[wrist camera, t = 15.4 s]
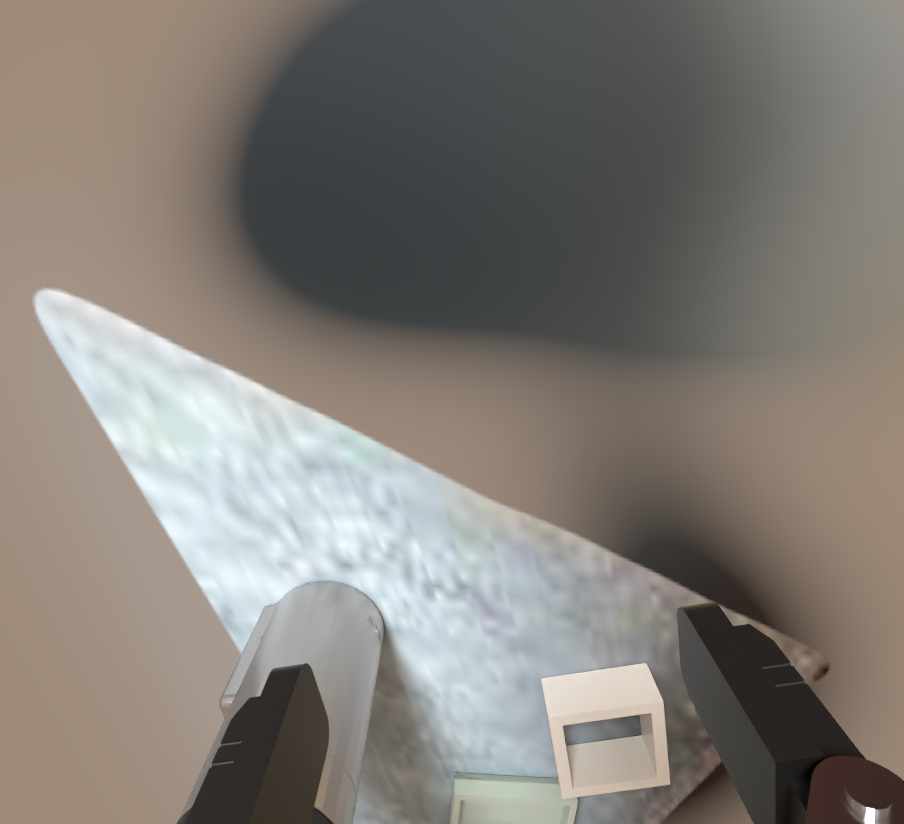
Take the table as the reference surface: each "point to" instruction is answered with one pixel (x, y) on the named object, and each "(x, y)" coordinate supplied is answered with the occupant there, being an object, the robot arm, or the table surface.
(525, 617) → the table surface
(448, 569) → the table surface
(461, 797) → the tray
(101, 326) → the table surface
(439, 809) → the table surface
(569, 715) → the white square frame
